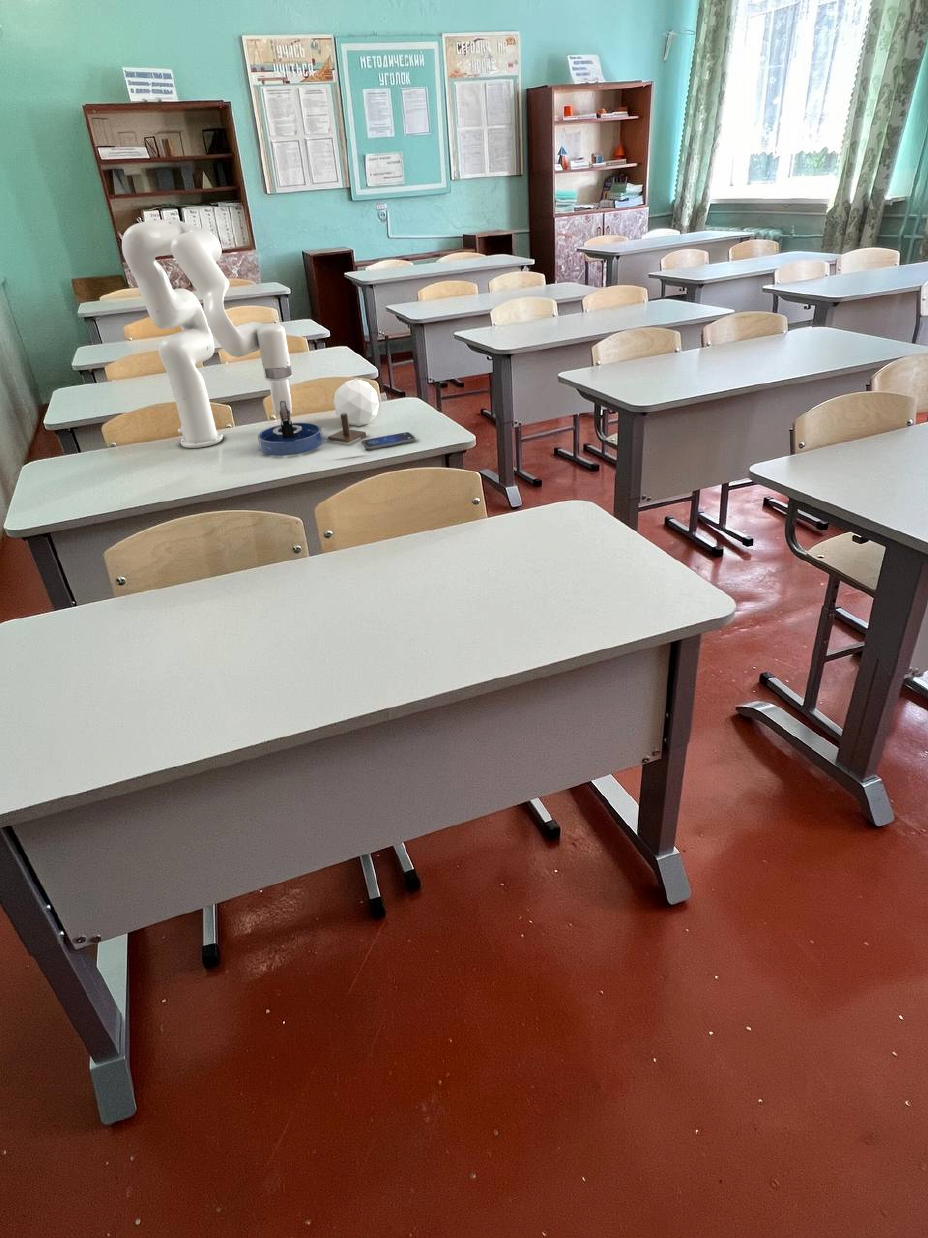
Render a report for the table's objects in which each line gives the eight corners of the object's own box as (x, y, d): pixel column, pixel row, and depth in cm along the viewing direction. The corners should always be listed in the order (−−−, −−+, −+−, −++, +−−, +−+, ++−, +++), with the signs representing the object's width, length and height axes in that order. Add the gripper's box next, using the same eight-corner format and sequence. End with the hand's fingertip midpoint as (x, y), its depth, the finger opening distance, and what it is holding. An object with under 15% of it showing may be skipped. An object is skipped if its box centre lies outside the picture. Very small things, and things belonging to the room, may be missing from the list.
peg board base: (328, 441, 224) (324, 416, 220) (345, 433, 230) (342, 409, 226) (349, 444, 220) (345, 419, 216) (366, 436, 226) (363, 411, 222)
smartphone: (417, 438, 219) (367, 447, 214) (417, 441, 219) (367, 451, 215) (408, 431, 224) (360, 440, 220) (409, 434, 225) (360, 443, 220)
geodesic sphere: (346, 395, 244) (331, 366, 231) (388, 395, 242) (376, 365, 228) (338, 435, 239) (322, 407, 226) (381, 435, 236) (368, 406, 223)
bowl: (247, 453, 220) (244, 437, 218) (291, 434, 233) (288, 419, 230) (293, 461, 211) (290, 445, 209) (336, 441, 224) (333, 426, 222)
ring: (273, 431, 225) (272, 426, 224) (301, 428, 227) (301, 423, 226) (274, 440, 218) (273, 435, 217) (303, 437, 220) (302, 432, 219)
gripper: (263, 366, 216) (274, 430, 225) (264, 380, 202) (276, 447, 212) (290, 364, 217) (300, 427, 227) (292, 377, 204) (303, 443, 214)
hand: (288, 436), depth 219 cm, fingers closed on ring, 1 cm apart
